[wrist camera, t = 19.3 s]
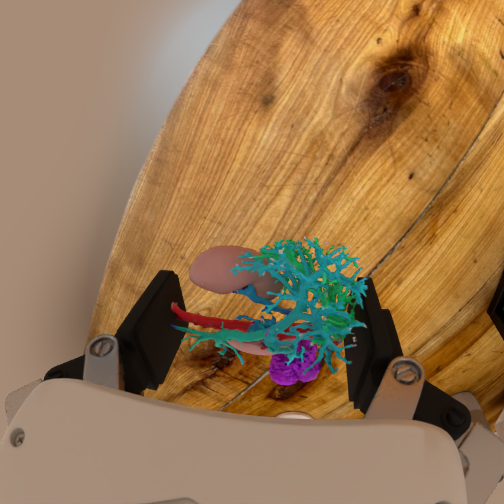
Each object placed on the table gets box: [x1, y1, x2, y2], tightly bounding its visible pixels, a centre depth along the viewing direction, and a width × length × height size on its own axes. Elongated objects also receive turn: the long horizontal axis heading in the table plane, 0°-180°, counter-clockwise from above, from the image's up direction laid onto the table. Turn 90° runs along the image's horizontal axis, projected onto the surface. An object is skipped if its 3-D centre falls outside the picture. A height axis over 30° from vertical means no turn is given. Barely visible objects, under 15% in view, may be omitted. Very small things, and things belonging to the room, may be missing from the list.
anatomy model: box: [170, 237, 368, 385], centre depth 10 cm, size 5×8×7 cm
